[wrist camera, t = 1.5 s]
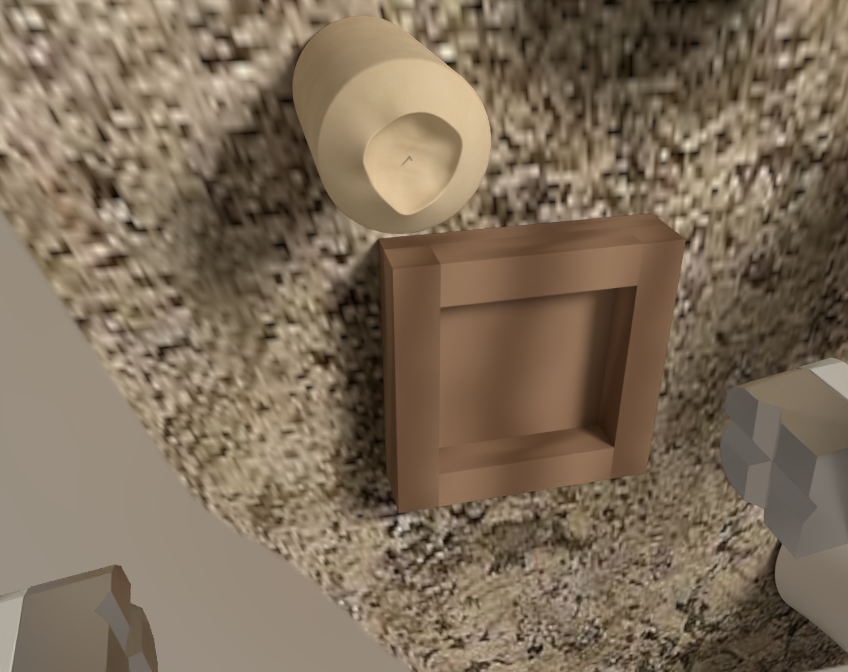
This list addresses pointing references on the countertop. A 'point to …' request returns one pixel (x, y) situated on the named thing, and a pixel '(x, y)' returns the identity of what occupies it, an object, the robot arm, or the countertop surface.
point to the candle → (389, 126)
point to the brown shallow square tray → (523, 355)
